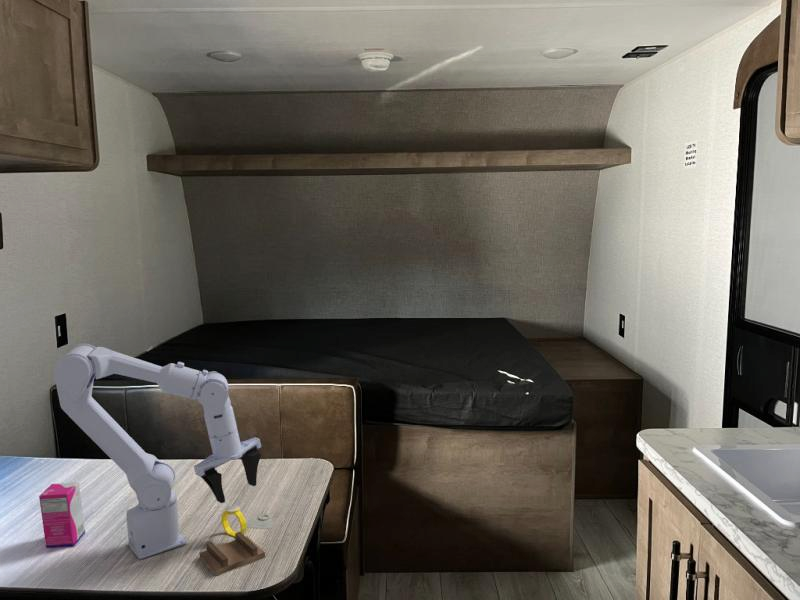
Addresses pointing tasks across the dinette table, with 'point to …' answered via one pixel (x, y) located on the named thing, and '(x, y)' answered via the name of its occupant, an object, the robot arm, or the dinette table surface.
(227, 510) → the watch
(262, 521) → the mounting bracket
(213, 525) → the dinette table surface
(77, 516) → the supplement box
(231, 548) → the rack
